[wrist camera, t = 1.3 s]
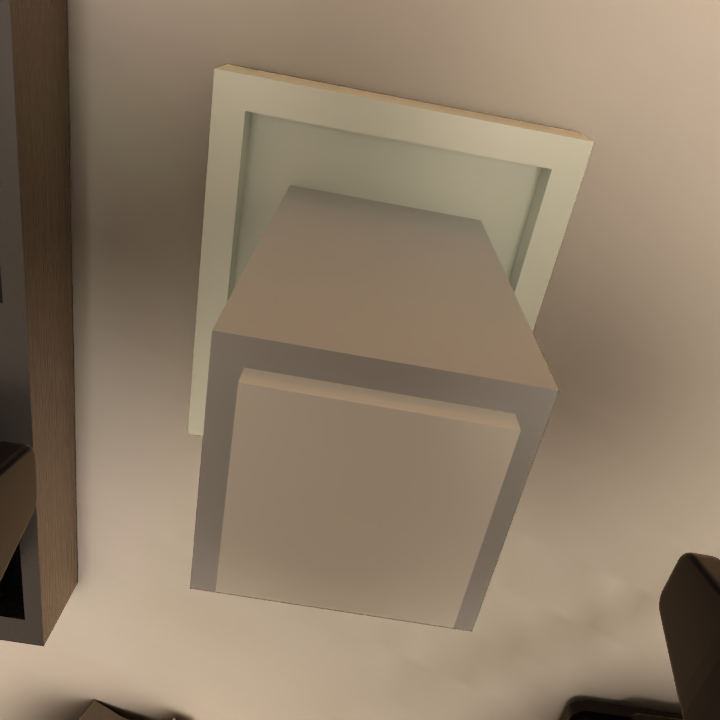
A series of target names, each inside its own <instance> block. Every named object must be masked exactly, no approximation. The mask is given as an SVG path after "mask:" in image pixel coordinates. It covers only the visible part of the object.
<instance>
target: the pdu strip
mask: <svg viewBox="0 0 720 720" xmlns="http://www.w3.org/2000/svg"><path fill="white" fill-rule="evenodd" d="M0 441H10V442H16V443H22V444H28V445H30V446H31V447H32V448H33V449H34V451H35V456H36V474H37V502H36V506H35V509H34V511H33V514H32V516H31V518H30V520H29V522H28V524H27V526H26V528H25V530H24V533H23V535H22V537H21V539H20V541H19V543H18V545H17V547H16V549H15V551H14V553H13V556H12V558H11V560H10V562H9V564H8V566H7V568H6V570H5V572H4V574H3V576H2V579H1V581H0V640H5V641H12V642H19V643H26V644H32V645H39V646H44V645H45V643H46V641H47V639H48V637H49V635H50V633H51V632H52V630H53V628H54V626H55V624H56V622H57V620H58V619H59V617H60V615H61V613H62V611H63V609H64V607H65V605H66V604H67V602H68V600H69V598H70V596H71V594H72V592H73V590H74V589H75V587H76V585H77V583H78V577H77V524H76V470H75V416H74V363H73V309H72V255H71V202H70V148H69V94H68V41H67V0H0Z"/></svg>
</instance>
